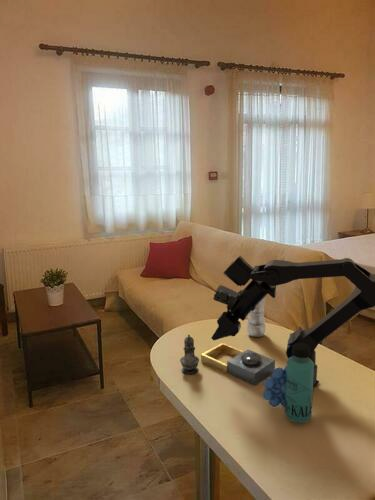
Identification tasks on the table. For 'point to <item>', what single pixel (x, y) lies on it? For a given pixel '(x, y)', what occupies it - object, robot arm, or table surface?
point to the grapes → (276, 387)
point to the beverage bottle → (299, 384)
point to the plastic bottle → (257, 320)
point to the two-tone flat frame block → (241, 363)
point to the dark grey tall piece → (189, 358)
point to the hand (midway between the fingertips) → (216, 332)
